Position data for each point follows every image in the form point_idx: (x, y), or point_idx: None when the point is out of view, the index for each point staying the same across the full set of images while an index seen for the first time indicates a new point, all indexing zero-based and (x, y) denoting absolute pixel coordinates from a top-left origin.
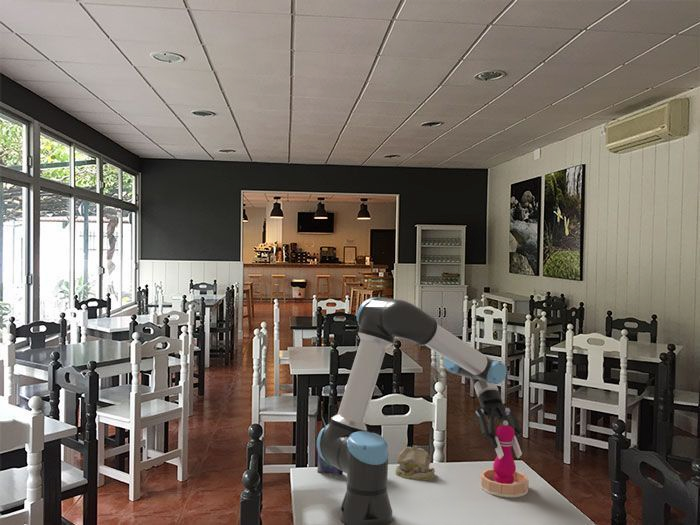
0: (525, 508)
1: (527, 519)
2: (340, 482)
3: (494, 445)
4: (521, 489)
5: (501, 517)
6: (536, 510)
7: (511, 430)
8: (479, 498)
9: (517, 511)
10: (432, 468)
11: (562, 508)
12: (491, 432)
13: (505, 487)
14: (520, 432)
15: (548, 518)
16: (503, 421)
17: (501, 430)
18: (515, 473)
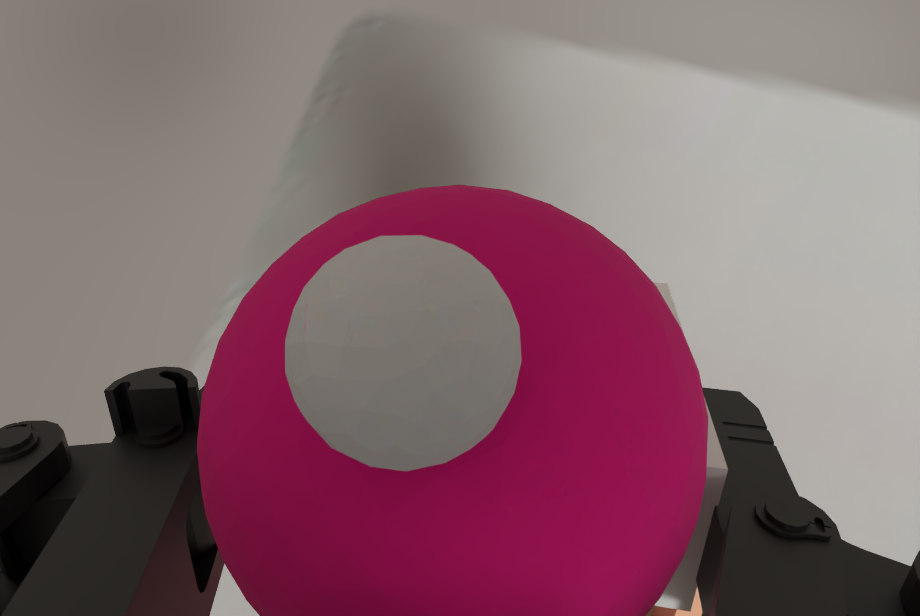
0: (568, 173)
1: (648, 60)
2: None
3: (747, 404)
4: None
5: (792, 110)
6: (520, 137)
7: (391, 197)
8: (807, 393)
9: (645, 152)
10: None
11: (355, 124)
12: (834, 582)
13: None
14: (29, 430)
15: (524, 47)
16: (480, 363)
17: (657, 295)
18: None
